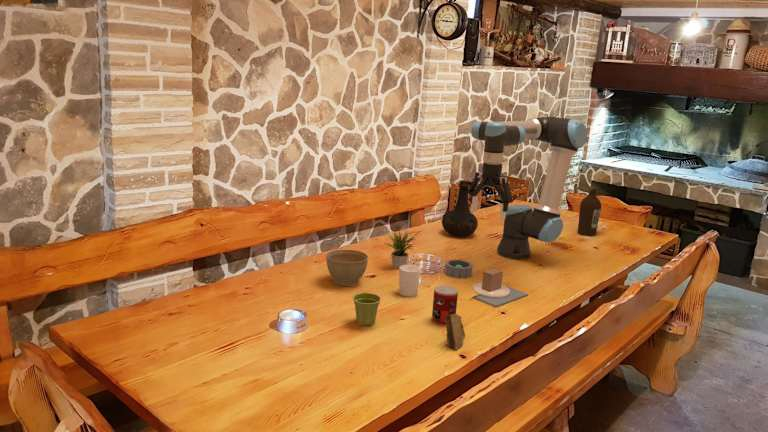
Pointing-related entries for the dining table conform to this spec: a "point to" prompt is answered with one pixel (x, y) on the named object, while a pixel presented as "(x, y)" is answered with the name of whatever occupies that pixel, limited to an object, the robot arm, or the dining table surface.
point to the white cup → (409, 280)
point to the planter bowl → (346, 266)
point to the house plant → (400, 249)
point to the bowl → (458, 268)
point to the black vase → (460, 215)
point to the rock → (454, 331)
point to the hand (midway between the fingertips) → (488, 215)
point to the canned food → (444, 303)
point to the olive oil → (589, 214)
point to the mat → (501, 301)
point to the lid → (492, 285)
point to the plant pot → (366, 308)
